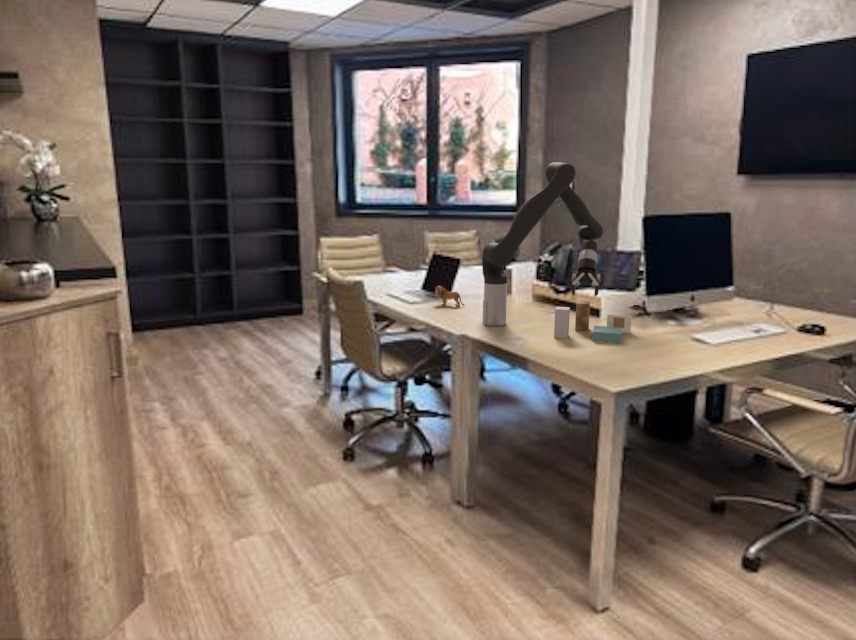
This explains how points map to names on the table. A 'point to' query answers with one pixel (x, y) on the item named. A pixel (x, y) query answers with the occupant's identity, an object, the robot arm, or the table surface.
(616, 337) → the teal base block
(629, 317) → the plaque
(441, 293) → the lion figurine
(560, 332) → the grey block
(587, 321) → the walnut block
